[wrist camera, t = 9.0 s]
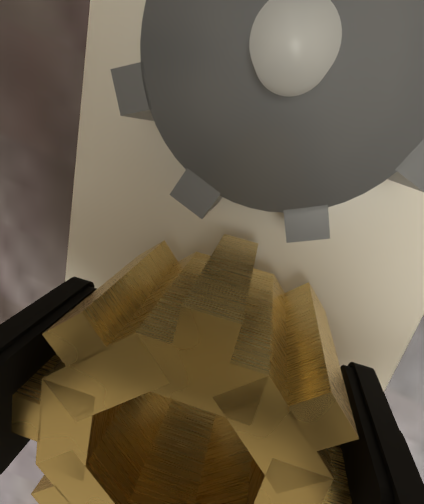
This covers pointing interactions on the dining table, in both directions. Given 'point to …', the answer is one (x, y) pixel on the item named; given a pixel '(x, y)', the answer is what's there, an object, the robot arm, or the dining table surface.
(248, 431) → the brass gear
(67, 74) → the dining table surface
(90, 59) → the gear board
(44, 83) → the dining table surface
